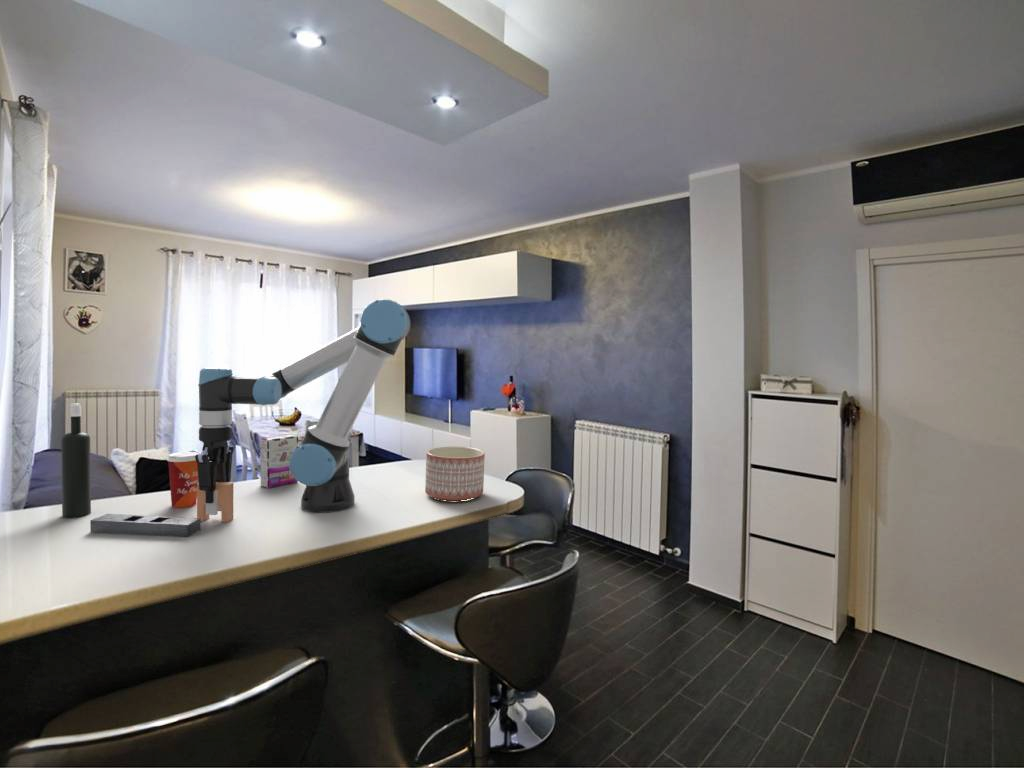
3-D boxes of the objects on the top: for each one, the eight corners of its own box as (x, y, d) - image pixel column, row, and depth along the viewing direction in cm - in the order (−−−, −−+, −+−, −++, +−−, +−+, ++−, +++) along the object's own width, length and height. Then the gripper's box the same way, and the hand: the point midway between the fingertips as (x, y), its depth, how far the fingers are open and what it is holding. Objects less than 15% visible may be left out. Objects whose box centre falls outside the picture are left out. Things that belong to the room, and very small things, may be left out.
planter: (494, 494, 168) (496, 451, 167) (458, 508, 152) (460, 460, 151) (450, 484, 178) (451, 444, 177) (412, 496, 162) (414, 451, 161)
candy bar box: (289, 479, 176) (290, 434, 175) (298, 482, 173) (298, 435, 172) (259, 486, 167) (259, 437, 166) (267, 488, 164) (268, 439, 163)
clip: (233, 518, 134) (233, 482, 134) (228, 521, 132) (228, 484, 131) (202, 517, 134) (202, 481, 134) (196, 520, 132) (197, 483, 131)
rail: (200, 529, 126) (200, 518, 125) (187, 537, 121) (187, 524, 120) (107, 525, 126) (107, 513, 126) (90, 532, 121) (90, 520, 121)
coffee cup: (184, 510, 139) (184, 457, 139) (159, 507, 141) (159, 455, 140) (207, 502, 148) (208, 452, 147) (184, 499, 149) (184, 450, 148)
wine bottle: (92, 515, 133) (91, 403, 131) (63, 519, 129) (62, 404, 127) (89, 509, 137) (88, 401, 135) (61, 514, 133) (59, 402, 131)
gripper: (219, 421, 139) (219, 503, 141) (181, 429, 124) (181, 521, 125) (245, 422, 139) (245, 504, 141) (211, 430, 124) (210, 522, 125)
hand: (215, 512), depth 133 cm, fingers closed on clip, 2 cm apart
